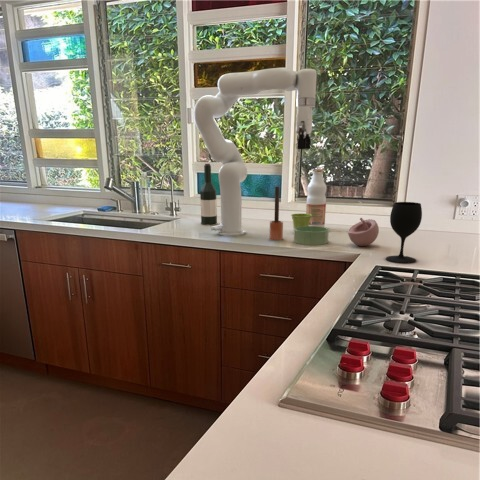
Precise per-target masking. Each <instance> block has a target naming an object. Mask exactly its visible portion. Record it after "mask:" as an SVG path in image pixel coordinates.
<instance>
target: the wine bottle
mask: <svg viewBox="0 0 480 480" xmlns="http://www.w3.org/2000/svg"><path fill="white" fill-rule="evenodd" d="M203 170H204V172H203V175H204V176H203V177H204V183H203V185H202V187H201V189H200V191H199V194H200V195H199V197H200V198H199V199H200V221H201V222H200V223H201V225H204V226H215V225H216V224H218V209H217V208H218V207H217V206H218V205H217V202H218V201H217V190H216V188H215V186H214V184H213V182H212V165H211V163H204V165H203Z"/></svg>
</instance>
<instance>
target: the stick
mask: <svg viewBox="0 0 480 480" xmlns="http://www.w3.org/2000/svg"><path fill="white" fill-rule="evenodd" d="M279 219H280V186H274V220H273V221H274V223H279V221H280V220H279Z"/></svg>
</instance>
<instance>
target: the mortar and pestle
mask: <svg viewBox="0 0 480 480" xmlns="http://www.w3.org/2000/svg"><path fill="white" fill-rule="evenodd" d="M379 231H380V228H379V225H378V223H377V221H376V220H375V219H372V218H371V219H364V218H363V217H360V218H359V222H356V223H355V224H353V225H352V226H351V227H349V229H348V231H347V234H348V238H349V240H350V241H351V242H352V243H353V244H354V245H356V246H359V247H367V246H369V245H372V244H373V243H375V241H376V240H377V238H378V237H379Z"/></svg>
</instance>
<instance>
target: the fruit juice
mask: <svg viewBox="0 0 480 480" xmlns="http://www.w3.org/2000/svg"><path fill="white" fill-rule="evenodd" d="M323 173H324V169H323V168H313V169H312V177H311V179H310V181H309V183H308V184H307V196H306V201H305V202H306V203H305V214H311V215H312V216H311V219H310V221H309V226H319V227H325V228H326V225H325V224H326V208H327V196H326V192H327V184H326V182H325V180H324V177H323Z"/></svg>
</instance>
